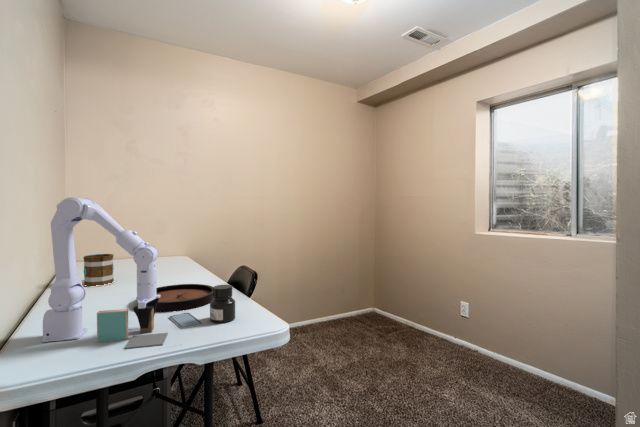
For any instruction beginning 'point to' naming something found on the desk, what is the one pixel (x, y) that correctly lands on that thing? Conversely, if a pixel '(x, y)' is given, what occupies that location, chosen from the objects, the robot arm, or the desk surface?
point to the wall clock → (183, 297)
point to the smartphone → (185, 320)
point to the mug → (98, 269)
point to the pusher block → (151, 324)
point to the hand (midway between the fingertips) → (147, 323)
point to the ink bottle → (222, 304)
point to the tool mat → (146, 340)
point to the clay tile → (112, 325)
